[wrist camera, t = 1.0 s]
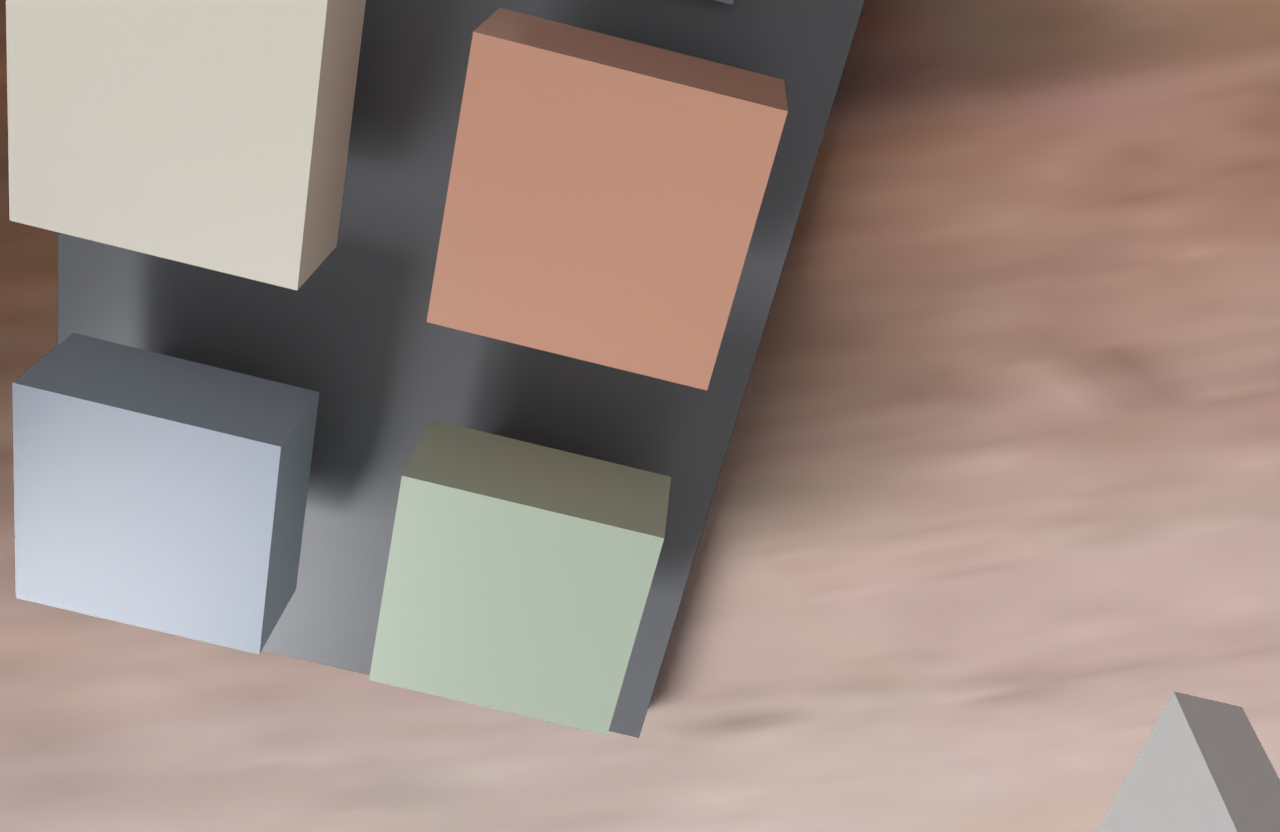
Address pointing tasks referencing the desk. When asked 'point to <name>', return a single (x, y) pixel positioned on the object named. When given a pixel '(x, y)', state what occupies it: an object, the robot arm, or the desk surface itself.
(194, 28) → the key cream
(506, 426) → the keypad
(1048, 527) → the desk surface
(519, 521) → the key sage
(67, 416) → the key slate
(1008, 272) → the desk surface
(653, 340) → the key terracotta
